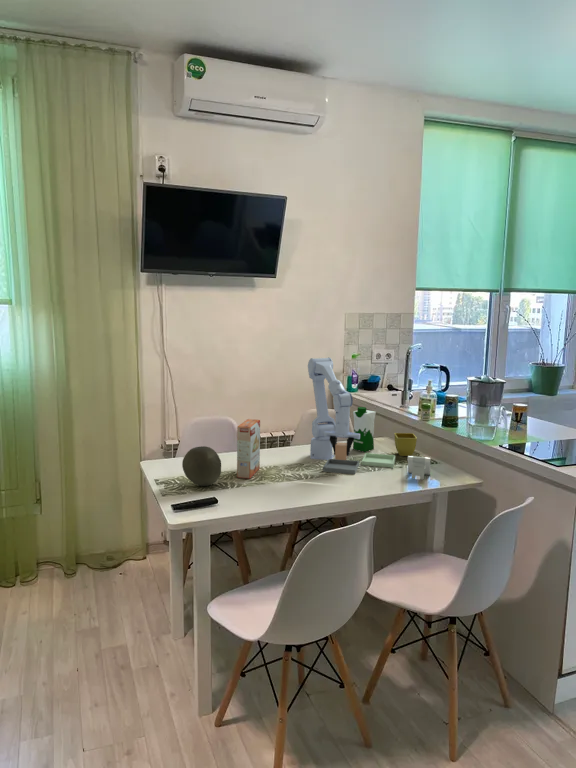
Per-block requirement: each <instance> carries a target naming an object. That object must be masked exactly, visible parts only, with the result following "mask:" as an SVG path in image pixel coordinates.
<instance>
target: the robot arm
mask: <svg viewBox="0 0 576 768" xmlns="http://www.w3.org/2000/svg"><path fill="white" fill-rule="evenodd" d="M333 369H334V361H333V359H332V358H331V357H321V358H320V357H318V358H315V357H312V358H309V360H308V363H307V370H308V371H307V373H308V376H309V379H311V380H312V386H313V393H314V401H315V407H316V418H314V419H313V420H312V422H311V434H312V436H313V437H311V440H310V449H309V450H310V452H309V455H310V456H309V457H310V458H309V459H312V460H323V461H328V459H334V458H335V446H336V444H337V442H338V438H343V439H346V443H347V456H348V457H349V455H350V452H351V447H352V446H353V441H354V439H360V434H359V433H354V432H351V431H350V421H351V420H350V418H351V414H350V411H351V408H352V406H353V402H354V398H353V395H352V393H351V392H349V391H346V389H345V387H344V385H343V383H342V381H341V380H339V379H337V377H336V374H335V371H334V370H333ZM325 379H326V381H327V383H328V389H329V392H330V393H331V396H332V397H333V399H332V400H333V401H332V402H333V407H334V408H333V409H334V412H335V419H334V418H333V417H331V416H330V414H329V408H328V402H327V401H328V400H327V394H326V388H325Z"/></svg>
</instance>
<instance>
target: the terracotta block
mask: <svg viewBox="0 0 576 768" xmlns="http://www.w3.org/2000/svg"><path fill="white" fill-rule="evenodd" d="M348 458H349V456H347V442H338V441H337V444H336V446H335V455H334V459H337V460H348Z"/></svg>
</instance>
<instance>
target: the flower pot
mask: <svg viewBox="0 0 576 768" xmlns="http://www.w3.org/2000/svg"><path fill="white" fill-rule="evenodd" d="M393 435H394V446H395V449H396V452H397V453H398V456H400V457H408V456H413V454H414V453H415V450H416V446H417V442H418V437H417V436H416V435H415V434H414V432H412V433H411V432H408V433H407V432H394V433H393Z"/></svg>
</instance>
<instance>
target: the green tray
mask: <svg viewBox="0 0 576 768" xmlns="http://www.w3.org/2000/svg"><path fill="white" fill-rule="evenodd" d="M395 463H396V454H385V453H373V452H371V453H369V452H364V455H363V458H362V460H361V466H369V467H370V466H371V467H378V468H379V467H381V468H382V467H383V468H391V469H392V470H393V469H394V467H395Z"/></svg>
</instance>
